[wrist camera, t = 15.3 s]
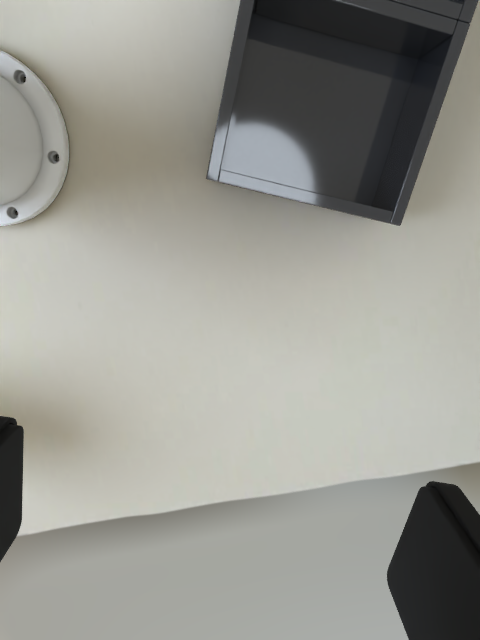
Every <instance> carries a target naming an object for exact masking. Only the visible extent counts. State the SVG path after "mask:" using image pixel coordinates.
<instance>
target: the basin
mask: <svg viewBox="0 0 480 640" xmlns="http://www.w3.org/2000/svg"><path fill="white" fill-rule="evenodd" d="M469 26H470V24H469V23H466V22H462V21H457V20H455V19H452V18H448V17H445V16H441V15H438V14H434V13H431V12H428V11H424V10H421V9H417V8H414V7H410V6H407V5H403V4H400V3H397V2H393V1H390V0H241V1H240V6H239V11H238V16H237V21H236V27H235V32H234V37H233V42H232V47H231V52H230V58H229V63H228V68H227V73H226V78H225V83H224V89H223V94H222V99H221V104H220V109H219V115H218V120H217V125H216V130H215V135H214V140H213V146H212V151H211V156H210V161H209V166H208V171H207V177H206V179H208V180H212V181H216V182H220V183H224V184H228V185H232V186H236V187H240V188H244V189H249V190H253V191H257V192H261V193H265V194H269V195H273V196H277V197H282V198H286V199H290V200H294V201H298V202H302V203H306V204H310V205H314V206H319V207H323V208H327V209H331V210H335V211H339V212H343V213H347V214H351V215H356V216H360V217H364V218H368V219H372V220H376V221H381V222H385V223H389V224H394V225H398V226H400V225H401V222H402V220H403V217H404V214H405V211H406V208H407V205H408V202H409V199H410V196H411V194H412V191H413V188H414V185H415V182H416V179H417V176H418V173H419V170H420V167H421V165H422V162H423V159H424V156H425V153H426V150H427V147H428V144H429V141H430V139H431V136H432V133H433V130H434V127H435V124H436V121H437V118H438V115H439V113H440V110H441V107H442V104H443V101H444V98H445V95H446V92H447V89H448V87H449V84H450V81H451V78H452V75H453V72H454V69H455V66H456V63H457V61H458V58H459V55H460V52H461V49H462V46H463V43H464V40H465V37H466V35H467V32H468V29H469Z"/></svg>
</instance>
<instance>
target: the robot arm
mask: <svg viewBox="0 0 480 640" xmlns="http://www.w3.org/2000/svg"><path fill="white" fill-rule="evenodd" d="M25 76H26V81H25V82H23V78H24V77H25ZM57 154H58V155H59V158H60V159H59V161H57V160H56V158H55V157H56V155H57ZM68 162H69V139H68V135H67V130H66V126H65V122H64V119H63V117H62V114H61V112H60V109H59V107H58V104H57V103H56V101H55V100H54V98H53V96H52V95H51V93H50V91H49V90H48V88H47V87H46V86H45V85H44V83H43V82H42V81H41V80H40V79H39V78H38V76H37V75H36V74H35V73H34V72H32V71H31V70H30V69H29V68H28V67H27V66H25V65H24V64H23V63H22V62H20V61H19V60H17V59H16V58H14V57H12V56H11V55H9V54H8V53H6V52H4V51H2V50H0V226H7V225H13V224H18V223H21V222H24V221H26V220H29V219H31V218H33V217H35V216H36V215H38V214H39V213H41V212H42V211H44V210H45V209H46V208H47V207H48V206H49V205H50V204H51V203H52V202H53V201H54V199H55V198H56V196H57V195H58V193H59V191H60V190H61V188H62V186H63V183H64V180H65V177H66V174H67V169H68ZM16 210H17V211H18V215H17V214H16ZM23 438H24V431H23V427H22V426H18V425H17V422H16V419H14V418H10V417H4V416H0V562H1V560H2V558H3V557H4V555H5V554H6V552H7V550H8V549H9V547H10V546H11V544H12V542H13V541H14V539H15V538H16V536H17V534H18V531H19V529H20V526H21V520H22V484H23ZM387 581H388V586H389V589H390V592H391V594H392V597H393V599H394V602H395V605H396V607H397V610H398V612H399V615H400V618H401V620H402V623H403V625H404V628H405V631H406V633H407V636H408V638H409V640H480V515H479V514H478V512H477V511H476V510H475V508H474V507H473V506H472V504H471V503H470V502H469V500H468V499H467V497H466V496H465V495H464V493H463V492H462V491H461V489H460V488H459V487H458V486H456V485H453V484H447V483H440V482H434V481H432V482H429V483H428V484H427V485H426V487H421V488H420V490H419V491H418V494H417V497H416V499H415V502H414V504H413V507H412V510H411V512H410V514H409V517H408V519H407V522H406V524H405V527H404V530H403V532H402V535H401V537H400V540H399V542H398V545H397V547H396V550H395V552H394V555H393V557H392V560H391V563H390V565H389V568H388V571H387Z"/></svg>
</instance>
